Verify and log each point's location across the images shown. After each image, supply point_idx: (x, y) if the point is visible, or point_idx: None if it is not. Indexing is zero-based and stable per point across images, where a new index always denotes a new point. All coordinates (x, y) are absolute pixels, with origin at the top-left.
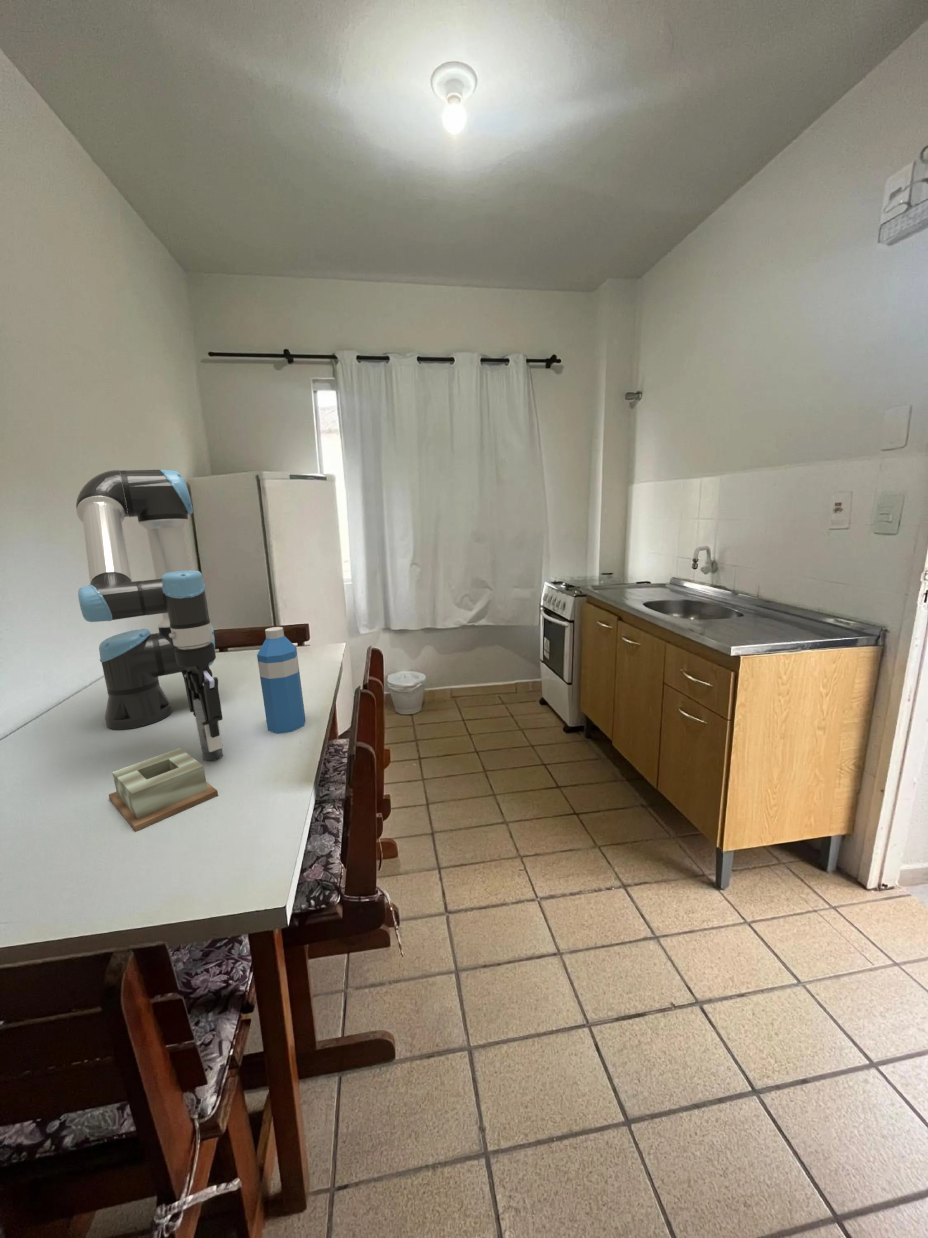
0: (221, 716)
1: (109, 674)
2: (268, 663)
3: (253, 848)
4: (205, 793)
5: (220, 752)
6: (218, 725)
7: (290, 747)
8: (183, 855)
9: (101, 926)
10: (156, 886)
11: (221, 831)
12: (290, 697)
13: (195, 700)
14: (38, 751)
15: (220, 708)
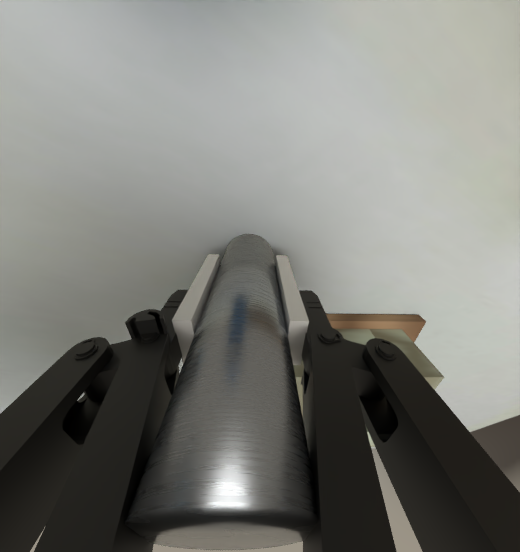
0: (408, 364)
1: None
2: None
3: None
4: (410, 336)
5: (270, 251)
6: (303, 305)
7: (440, 24)
8: (483, 380)
9: (477, 427)
10: (490, 402)
11: (505, 345)
12: None
13: (236, 547)
14: None
15: (460, 427)
